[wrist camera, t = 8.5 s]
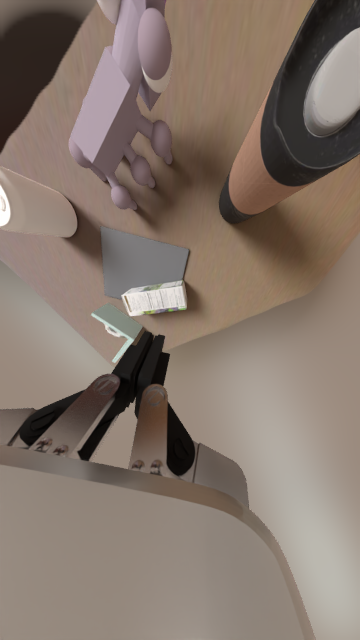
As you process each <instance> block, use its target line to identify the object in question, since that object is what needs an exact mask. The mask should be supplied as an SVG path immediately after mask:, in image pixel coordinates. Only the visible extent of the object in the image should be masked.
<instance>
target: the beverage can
mask: <svg viewBox="0 0 360 640" xmlns="http://www.w3.org/2000/svg"><path fill="white" fill-rule="evenodd" d="M0 228H1V229H3V230H6V231H11V232H20V233H29V234H38V235H47V236H56V237H70V236H72V235H73V234H74V233H75V232H76V229H77V217H76V214H75V211H74V209H73V207H72V205H71V204H70V202H69V201H68V200H67V199H66V198H65V197H64V196H63V195H62V194H61V193H59V192H57V191H55V190H53V189H51V188H49V187H47V186H44V185H42V184H40V183H38V182H35V181H33V180H31V179H29V178H26V177H24V176H22V175H20V174H17V173H15V172H13V171H11V170H8V169H6V168H4V167H2V166H0Z"/></svg>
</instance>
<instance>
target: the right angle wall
mask: <svg viewBox="0 0 360 640" xmlns="http://www.w3.org/2000/svg"><path fill="white" fill-rule="evenodd" d="M91 315H92V316H93V317H95V318H96V319H98V320H99V321H101V322H102V323H104V325H105V326H106V327H105V329H106V330H108V331H107V332H108V333H110V334H111V335H112V334H113V335H114V336H117V337H120V336H124V337H126V338H128V340H127V342H126V343H125V344H124V345H123V347H122V348H121V349H120V351H119V352H118V353H117V355H116V356H115V358H114V359H113V360H112V361H113V362H114V363H115V362H116V361H117V360H118V359H119V358H120V356H121V355H122V354H123V353H124V352H125V350H126V349H127V348H128V347H129V346H130V345H131V343H132V342H133V341H134V340H135V338H136V337H137V335H138V333H139V332H140V330H141V329H142V327H143V326H142V325H140V324H139V323H137V322H136V321H134V320H133V319H132V318H130V317H129V316H127V315H126V314H124V313H123V312H121V311H120V310H119V309H117V308H116V307H114V306H113V305H111V304H110V303H107V304H105V305H104V306H102V307H100V308H99V309H97V310H96V311H94V312H92V314H91Z"/></svg>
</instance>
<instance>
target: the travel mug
mask: <svg viewBox="0 0 360 640" xmlns="http://www.w3.org/2000/svg"><path fill="white" fill-rule="evenodd" d="M359 154H360V0H315V1H314V3H313V4H312V6H311V8H310V10H309V11H308V13H307V15H306V17H305V19H304V21H303V23H302V24H301V26H300V28H299V30H298V32H297V34H296V36H295V38H294V41H293V43H292V45H291V47H290V49H289V51H288V53H287V55H286V57H285V59H284V61H283V63H282V65H281V67H280V69H279V71H278V73H277V75H276V77H275V79H274V81H273V83H272V85H271V87H270V90H269V92H268V94H267V96H266V98H265V100H264V102H263V104H262V106H261V108H260V110H259V112H258V114H257V116H256V118H255V120H254V122H253V124H252V126H251V128H250V130H249V132H248V134H247V136H246V138H245V140H244V142H243V144H242V146H241V149H240V151H239V153H238V155H237V157H236V159H235V161H234V163H233V165H232V168H231V170H230V172H229V175H228V177H227V180H226V182H225V184H224V187H223V189H222V192H221V195H220V200H219V209H220V213H221V215H222V217H223V218H224V219H225V220H226V221H227V222H230V223H239V222H242V221H244V220H246V219H248V218H250V217H252V216H255V215H257V214H259V213H261V212H263V211H265V210H266V209H268V208H270V207H272V206H273V205H275V204H277V203H278V202H280V201H282V200H284V199H285V198H287V197H289V196H290V195H292V194H294V193H296V192H297V191H299V190H301V189H303V188H304V187H306V186H308V185H309V184H311V183H313V182H315V181H316V180H318V179H320V178H321V177H323V176H325V175H327V174H328V173H330V172H332V171H334V170H335V169H337V168H339V167H340V166H342V165H344V164H346V163H347V162H349V161H350V160H352V159H353V158H355V157H356V156H358V155H359Z"/></svg>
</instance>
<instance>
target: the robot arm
mask: <svg viewBox="0 0 360 640" xmlns="http://www.w3.org/2000/svg"><path fill="white" fill-rule="evenodd" d="M153 337H154V335H152V333H151V332H146V331H145V332H144V333H143V335H142V337H141V338H140V340H139V342H138V344H137V345H136V346H134V345H130V346H129V347H128V349H127V350H126V352H125V353H124V355H123V356H122V358H121V359H120V361H119V363H118V364H117V366H116V367H115V369H114V370H113V372H112V373H111V374H105V375H102V376H100V377H98V378H97V379H96V380H94V381H93V382H92V383H91V384H90V385H89V386H88V388H87V389H85V390H83V391H80V392H78V393H76V394H73V395H71V396H69V397H66V398H64V399H62V400H59V401H57V402H55V403H52V404H50V405H48V406H45V407H43V408H41V409H39V410H35V409H34V408H23V409H22V408H21V409H0V640H316V639H315V636H314V633H313V630H312V627H311V624H310V621H309V619H308V616H307V613H306V610H305V607H304V604H303V601H302V598H301V596H300V593H299V590H298V588H297V585H296V582H295V580H294V577H293V575H292V572H291V570H290V567H289V565H288V562H287V560H286V558H285V556H284V554H283V552H282V550H281V548H280V546H279V544H278V542H277V540H276V539H275V537H274V536H273V535H272V533H271V532H270V530H269V529H268V528H267V526H265V524H264V523H263V522H262V521H261V520H260V519H259V518H258V517H257V516H256V515H255V514H254V513H253V512H252V511H251V510H250V509H249V504H248V503H249V502H248V492H247V483H246V478H245V476H244V474H243V471H242V469H241V468H240V467H239V466H238V464H237V463H235V462H234V461H233V460H231V459H229V458H227V457H225V456H224V455H222V454H220V453H218V452H216V451H214V450H213V449H211V448H209V447H207V446H205V445H203V444H202V443H199V444H198V443H196V442H195V441H193V440H192V439H191V437H190V435H189V434H188V432H187V431H186V429H185V428H184V426H183V424H182V423H181V421H180V420H179V418H178V417H177V415H176V414H175V412H174V410H173V409H172V407H171V406H170V404H169V403H168V395H167V391H166V389H165V388H164V387H163V385H164V380H165V375H166V371H167V366H168V362H169V357H170V354H168V353H164V352H162V348H163V344H164V339H165V336H163V335H158V336H155V338H154V340H153ZM135 397H136V403H135V404H136V405H135V415H136V417H137V425H136V431H135V436H134V441H133V446H132V452H131V457H130V462H129V467H128V469H124V468H119V467H114V466H109V465H104V464H99V463H94V462H92V460H93V458H94V457H95V455H96V453H97V451H98V450H99V448H100V446H101V445H102V443H103V441H104V440H105V438H106V436H107V435H108V433H109V431H110V430H111V428H112V426H113V425H114V423H115V421H116V419H117V418H118V416H119V414H120V413H122V412H123V411H124V410H125V408H126V407H129V405H130V402H131V403H133V402H134V400H135Z"/></svg>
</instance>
